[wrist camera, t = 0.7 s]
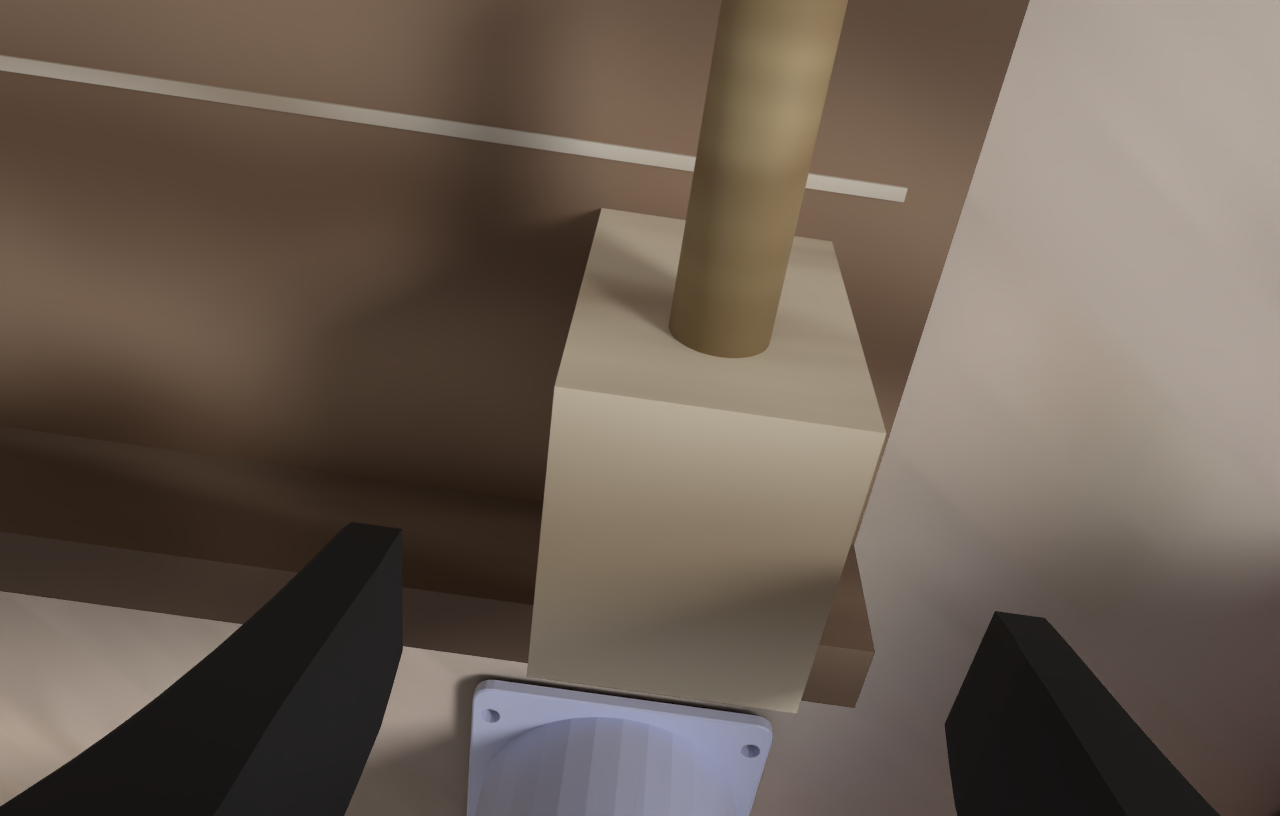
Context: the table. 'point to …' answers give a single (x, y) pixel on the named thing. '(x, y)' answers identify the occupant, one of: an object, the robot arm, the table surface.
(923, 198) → the board
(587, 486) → the beige block with rod
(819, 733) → the table surface
